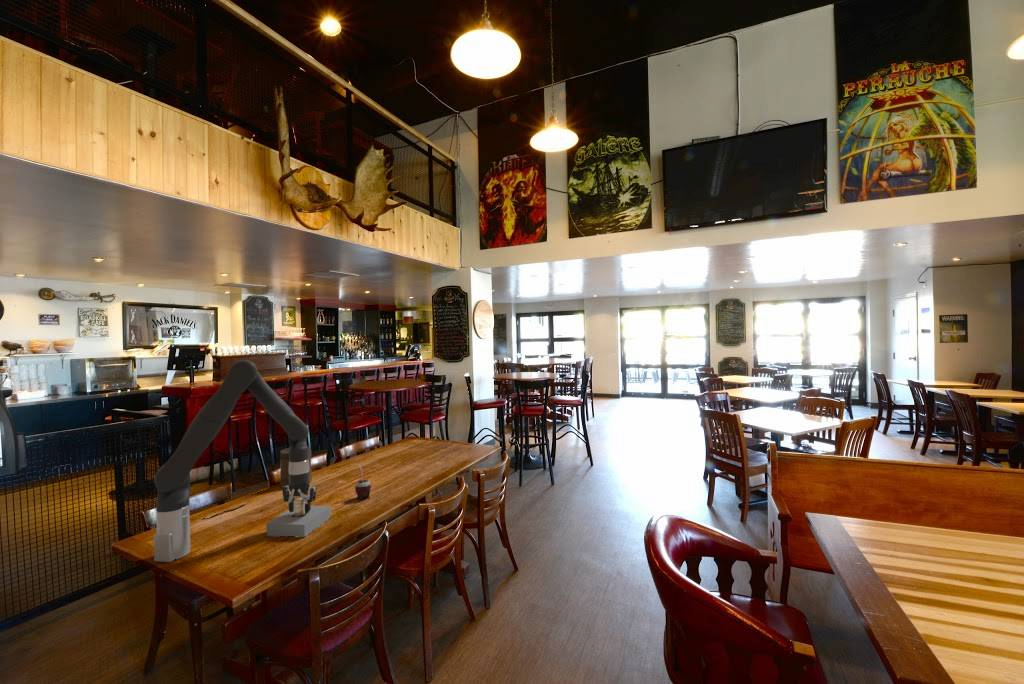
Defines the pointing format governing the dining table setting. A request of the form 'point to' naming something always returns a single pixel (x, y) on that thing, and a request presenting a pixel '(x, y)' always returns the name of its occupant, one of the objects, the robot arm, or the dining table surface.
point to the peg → (299, 507)
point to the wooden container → (285, 466)
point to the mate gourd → (363, 488)
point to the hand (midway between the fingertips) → (299, 511)
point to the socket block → (298, 522)
